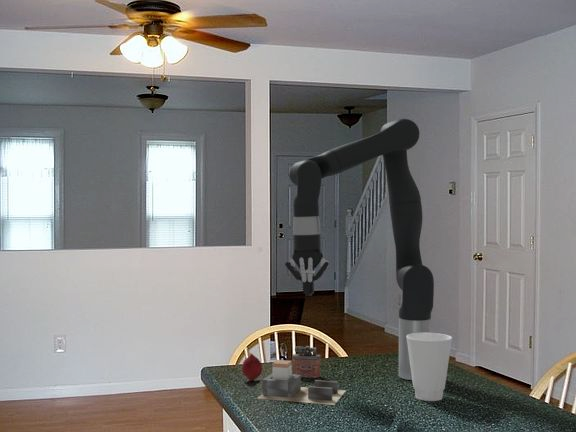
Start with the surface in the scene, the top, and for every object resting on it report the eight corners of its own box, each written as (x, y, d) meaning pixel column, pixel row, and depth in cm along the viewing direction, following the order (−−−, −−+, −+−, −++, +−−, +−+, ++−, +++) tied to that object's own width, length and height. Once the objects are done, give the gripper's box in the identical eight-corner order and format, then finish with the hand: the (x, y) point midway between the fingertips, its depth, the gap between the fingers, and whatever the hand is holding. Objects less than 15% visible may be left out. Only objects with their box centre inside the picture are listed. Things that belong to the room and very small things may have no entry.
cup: (401, 401, 182) (402, 338, 181) (410, 389, 193) (410, 331, 192) (448, 405, 177) (449, 342, 177) (454, 393, 189) (455, 334, 188)
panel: (346, 396, 186) (346, 375, 186) (334, 410, 173) (334, 388, 173) (273, 390, 192) (273, 370, 192) (256, 404, 178) (256, 382, 178)
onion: (265, 379, 204) (265, 351, 204) (257, 384, 198) (257, 355, 198) (246, 377, 206) (246, 350, 206) (238, 382, 200) (238, 354, 200)
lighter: (320, 380, 203) (320, 345, 203) (320, 383, 200) (320, 348, 199) (292, 379, 204) (292, 345, 204) (291, 382, 200) (291, 347, 200)
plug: (291, 391, 185) (291, 360, 185) (287, 395, 181) (287, 364, 181) (277, 390, 186) (277, 359, 186) (272, 394, 182) (272, 363, 182)
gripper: (332, 231, 198) (334, 293, 198) (287, 232, 201) (288, 293, 202) (327, 233, 191) (329, 297, 191) (280, 234, 194) (282, 297, 194)
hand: (308, 295), depth 196 cm, fingers closed
